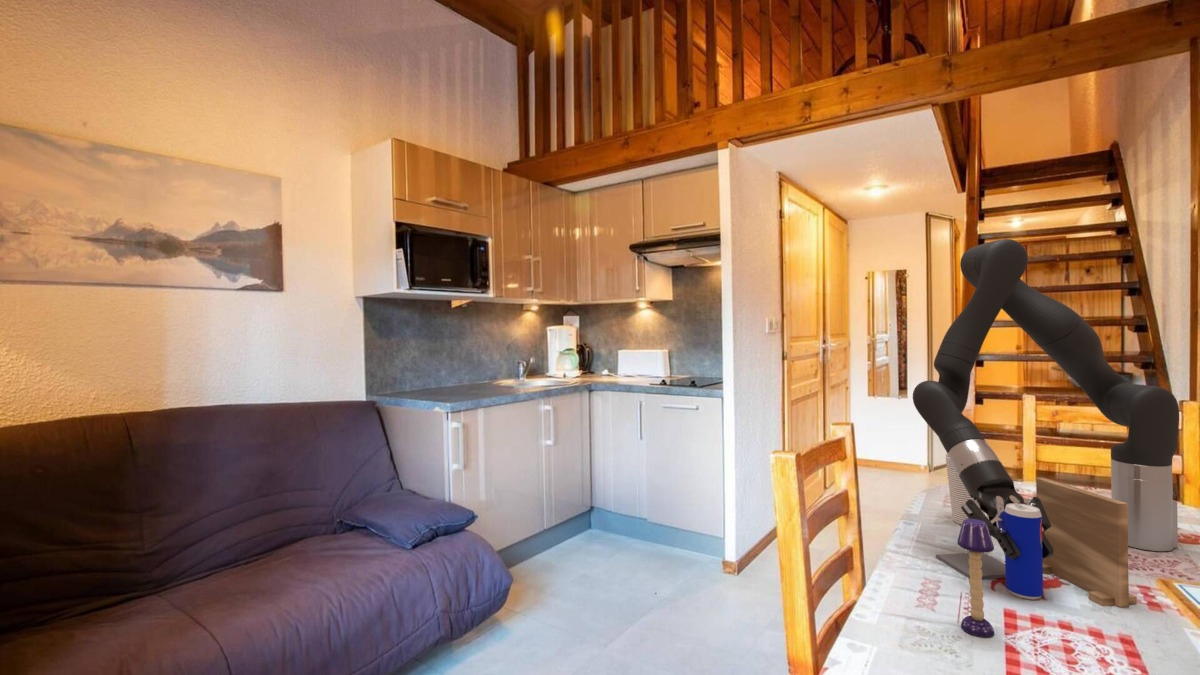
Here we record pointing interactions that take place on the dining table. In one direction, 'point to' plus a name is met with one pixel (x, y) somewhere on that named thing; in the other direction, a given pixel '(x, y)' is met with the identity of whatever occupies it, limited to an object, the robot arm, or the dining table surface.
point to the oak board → (1087, 541)
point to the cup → (957, 493)
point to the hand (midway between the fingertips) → (1032, 556)
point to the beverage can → (1024, 551)
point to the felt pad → (961, 564)
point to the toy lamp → (976, 574)
